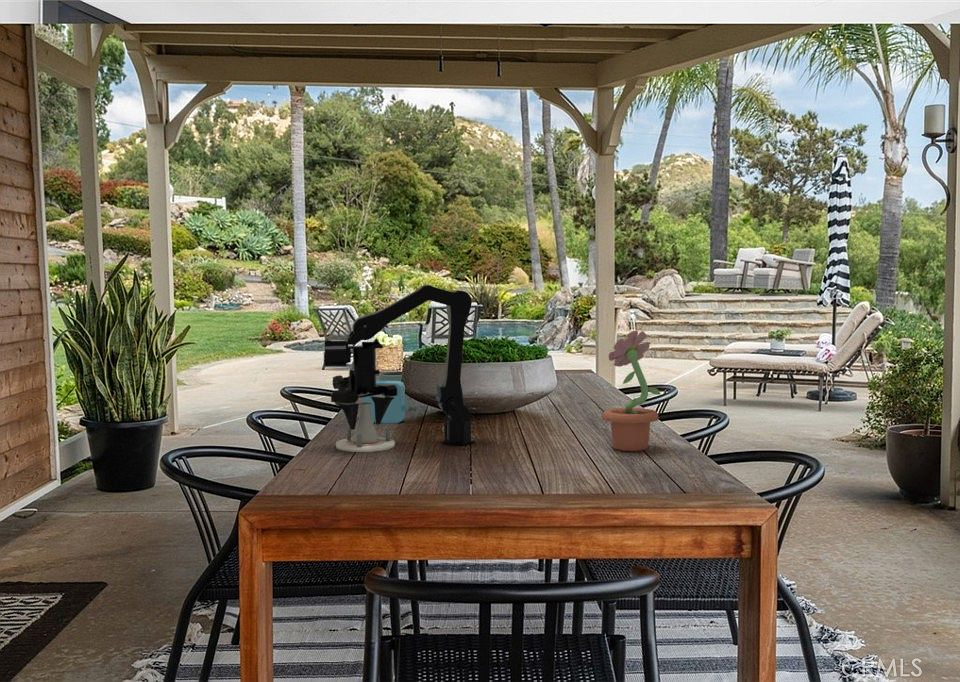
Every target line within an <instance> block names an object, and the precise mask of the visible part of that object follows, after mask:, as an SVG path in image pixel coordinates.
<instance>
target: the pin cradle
mask: <svg viewBox="0 0 960 682" xmlns="http://www.w3.org/2000/svg"><path fill="white" fill-rule="evenodd" d="M345 429H346V431H345V432H346V438H344V439H340V440H337V441H336V442H335V449H336V450H339V451H343V452H350V453H373V452H381V451H387V450H390V449H394V448H395V447H396V440H394V439H393V438H392V439H391V428H385V437H381V436H378V438H379V440H380V441H378V442H375V443H366V444H362V435H357V443H353V442H352V438H353V437H352V429H350V427H346V428H345Z"/></svg>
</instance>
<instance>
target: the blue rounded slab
mask: <svg viewBox="0 0 960 682" xmlns="http://www.w3.org/2000/svg"><path fill="white" fill-rule="evenodd" d="M376 384H392V385H395V386H396V387H397V396H391V397H394V399H393V400H392V401H391V403H390V404H389V406H388V408H387V410H386V412H385V414H384V416H383V419H382V421H381V423H380V424H398V423H401V422H402V421H404V420H405V418H406V411H405V385H404V383H403V382H401V381H380V380H376ZM371 397H372V396H368V397H362V398H361V399H362V400H361V403H362V402H369V403H371V406H370V412H371V417H372V421H373V424H374V423H375V424H376V420H375V404H374V402H373V400H372V398H371Z"/></svg>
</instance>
